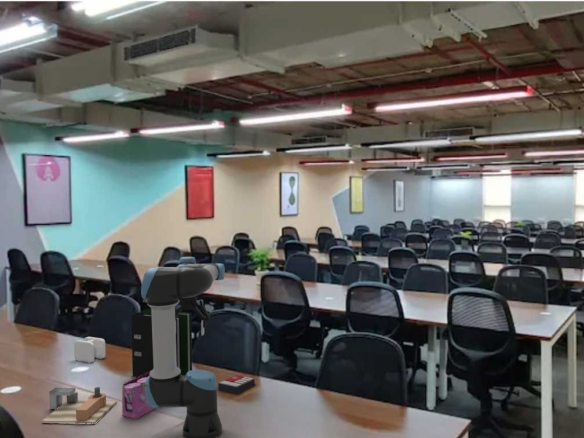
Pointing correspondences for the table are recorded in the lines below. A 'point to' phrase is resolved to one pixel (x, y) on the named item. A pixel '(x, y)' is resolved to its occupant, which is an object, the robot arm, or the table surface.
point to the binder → (144, 342)
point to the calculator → (236, 384)
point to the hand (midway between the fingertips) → (188, 334)
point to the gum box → (135, 397)
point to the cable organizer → (89, 349)
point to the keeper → (57, 396)
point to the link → (90, 406)
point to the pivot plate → (69, 411)
